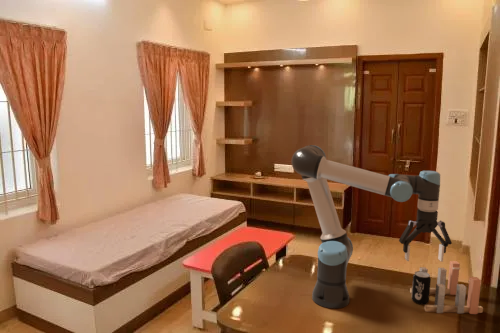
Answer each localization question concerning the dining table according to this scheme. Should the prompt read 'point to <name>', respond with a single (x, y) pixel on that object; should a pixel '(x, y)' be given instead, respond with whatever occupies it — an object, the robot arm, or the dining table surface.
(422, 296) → the beverage can
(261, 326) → the dining table surface
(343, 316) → the dining table surface
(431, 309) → the oak channel
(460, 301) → the steel collars
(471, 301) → the terracotta aperture
